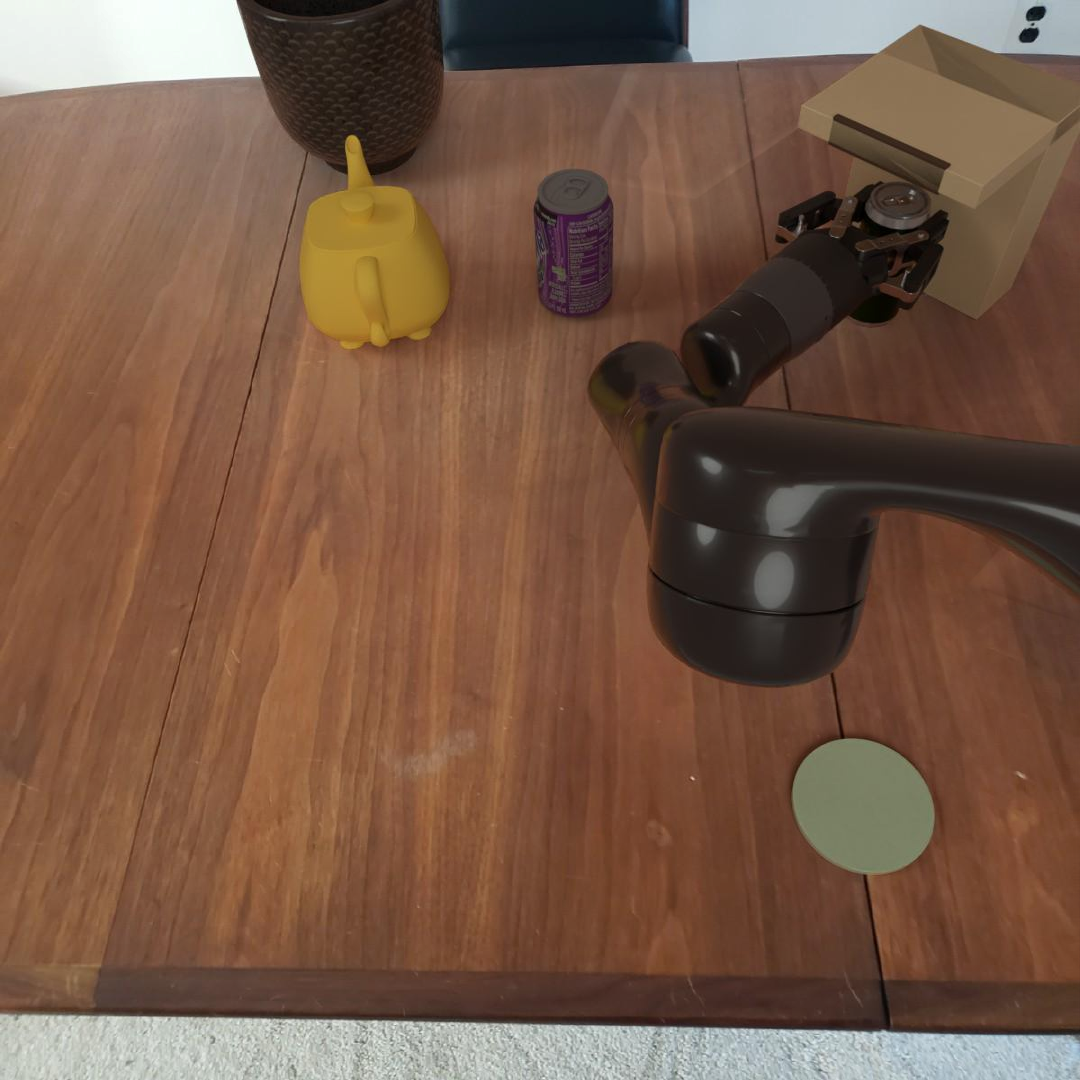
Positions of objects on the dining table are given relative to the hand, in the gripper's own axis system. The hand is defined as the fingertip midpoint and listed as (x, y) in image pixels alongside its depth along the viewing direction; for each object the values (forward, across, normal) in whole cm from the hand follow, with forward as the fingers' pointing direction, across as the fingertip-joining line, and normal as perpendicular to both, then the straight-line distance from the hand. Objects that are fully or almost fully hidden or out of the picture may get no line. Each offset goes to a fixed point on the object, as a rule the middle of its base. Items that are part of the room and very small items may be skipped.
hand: (911, 205), depth 84 cm
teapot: (-33, +35, +10) cm, 49 cm away
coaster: (-43, -27, +10) cm, 52 cm away
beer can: (-3, 0, +10) cm, 11 cm away
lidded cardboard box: (+3, 0, +10) cm, 10 cm away
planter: (-18, +56, +10) cm, 60 cm away
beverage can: (-20, +21, +10) cm, 31 cm away
